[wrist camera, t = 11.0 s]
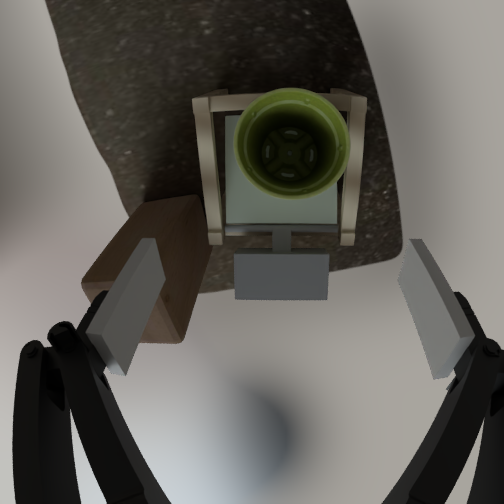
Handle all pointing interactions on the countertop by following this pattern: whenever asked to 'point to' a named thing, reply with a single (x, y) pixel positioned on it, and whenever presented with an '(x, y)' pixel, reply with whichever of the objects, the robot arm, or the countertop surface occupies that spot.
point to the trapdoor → (276, 235)
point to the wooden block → (172, 258)
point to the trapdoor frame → (211, 190)
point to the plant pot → (292, 143)
